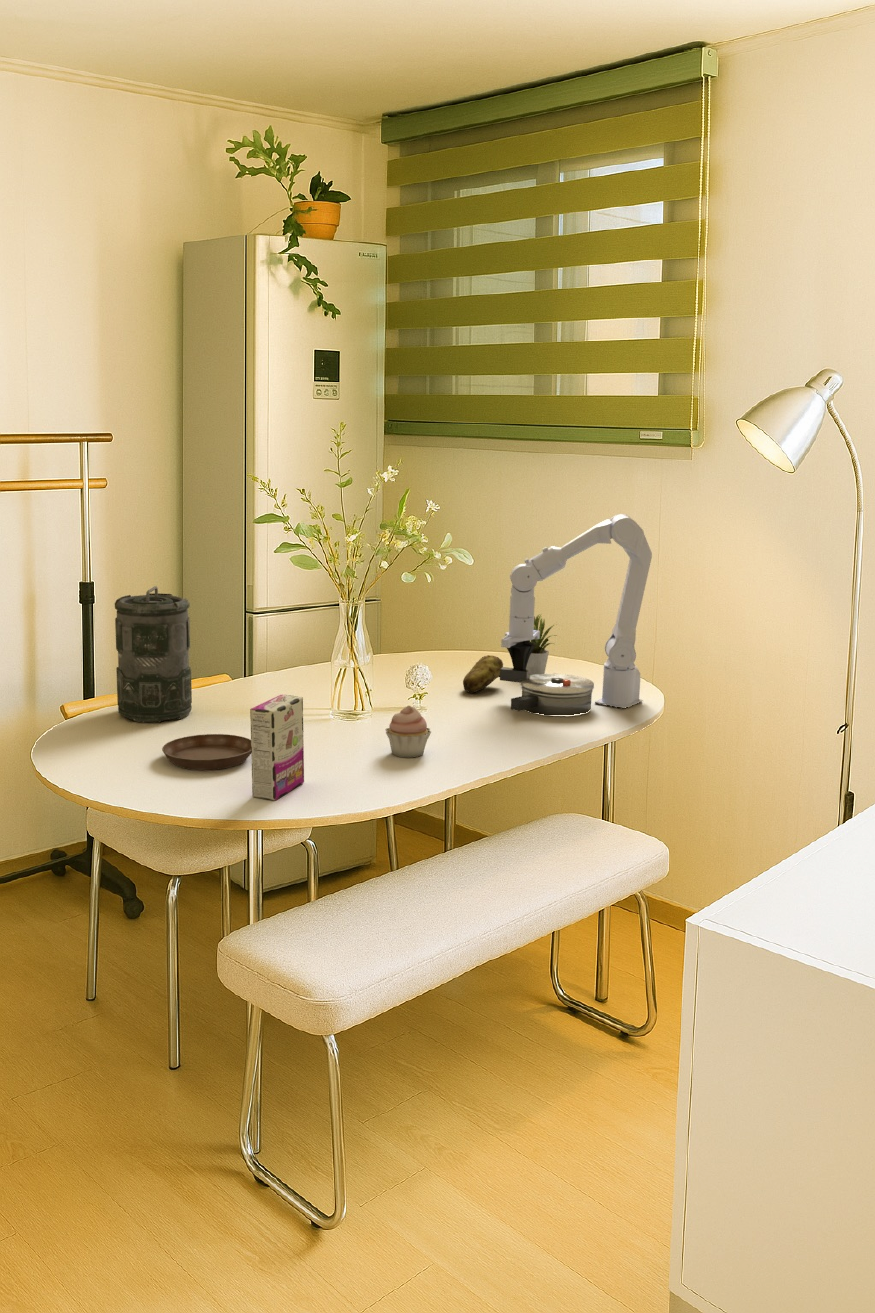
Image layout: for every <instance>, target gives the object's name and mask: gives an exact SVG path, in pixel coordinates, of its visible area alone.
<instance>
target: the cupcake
mask: <svg viewBox="0 0 875 1313" xmlns="http://www.w3.org/2000/svg"><path fill="white" fill-rule="evenodd" d="M388 725H389V727H387V728H385V734H386V736H387V738H388V741H389V745H390V752H391V753H392V754H393V756H396V757H400V758H405V759H408V758H418V757H420V756H422V755H423V754H424V753H425V749H426V745H427V742H428V739H429V737H430V735H431V733H432V731H431V728H430V727H428V724H427V721H426V719H425V718H424V717H423V716H422V714H421V712H419V710H418V709H417V708H416V707H414V706H411V705H407V706H404V708H403V709H401V710H400V712H397V713H394V714H393V715H392V717H391V721H390V723H389V724H388Z"/></svg>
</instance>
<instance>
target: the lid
mask: <svg viewBox="0 0 875 1313" xmlns="http://www.w3.org/2000/svg"><path fill="white" fill-rule="evenodd" d="M499 681H503V682H511V683H520V686H521V688H522V687H524V688H525V689H528V690H531V691H535V692H540V693H547V694H580V693H585V692H589V691H591V690H593V691H594V689H595V682H594V681H592V680H591V679H588V678H587V677H582V676H579V675H573V674H566V673H565V674H564V673H545V674H536V675H530V670H527V669H517V668H513V667H507V666H503V668H501V669H500V677H499Z"/></svg>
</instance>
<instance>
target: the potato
mask: <svg viewBox="0 0 875 1313" xmlns="http://www.w3.org/2000/svg"><path fill="white" fill-rule="evenodd" d="M503 667H504V663H503V660H502V659H501V658H499V657H498V656H495V655H484V656H482V657H481V658H480V659H479V660H478V661H477V662H475V664H474V665H473V666H472V668H470V670H469V671H468V672H467V673H466V675H464V678H463V679H462V684H463V689H464V691H466V692H468V693H476V692H478V691H480V690H484V689H485V688H486V687H488V686H489V685H490V684H492V683H493V682H494V681H495V680H496V679H497V678H500V669H501V668H503Z"/></svg>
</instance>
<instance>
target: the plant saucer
mask: <svg viewBox="0 0 875 1313" xmlns="http://www.w3.org/2000/svg"><path fill="white" fill-rule="evenodd" d="M161 750H162V752H163V754H164V756H165V757H166V758H167V759H168V761H170V762H171V763H172V764H174V765H175V766H177V767H179V768H181V769H186V770H193V771H195V770H196V771H215V770H223V769H228V768H232V767H236V766H239V765H241V764H242V763H244V762H245V761H246V760H247V759H248V758H249V757H250V756H251V755H252V753H251V738H247V737H245V736H240V735H235V734H223V733H218V734H217V733H214V734H212V733H207V734H205V733H204V734H196V735H188V736H184V737H179V738H176V739H172V740H170V741H168V742H167V743H165V744H163V746H162V748H161Z"/></svg>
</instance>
